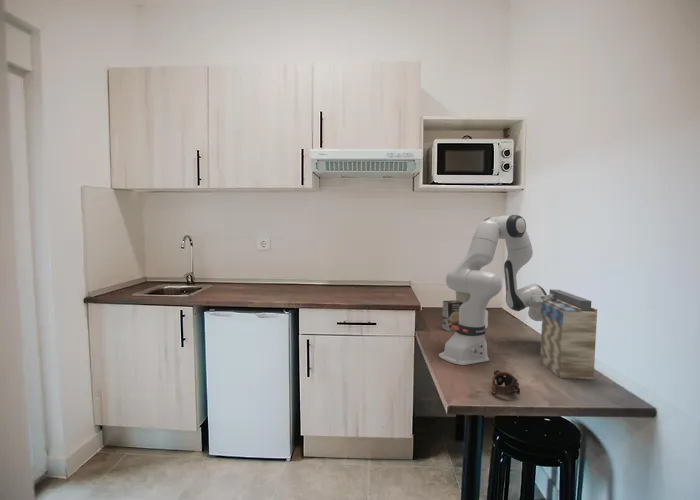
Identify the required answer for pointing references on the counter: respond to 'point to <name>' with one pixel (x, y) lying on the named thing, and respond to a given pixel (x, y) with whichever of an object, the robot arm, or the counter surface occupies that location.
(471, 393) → the counter surface
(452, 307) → the coffee box
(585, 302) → the dark gray block
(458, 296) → the canister
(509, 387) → the pottery mug
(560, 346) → the duct stand
